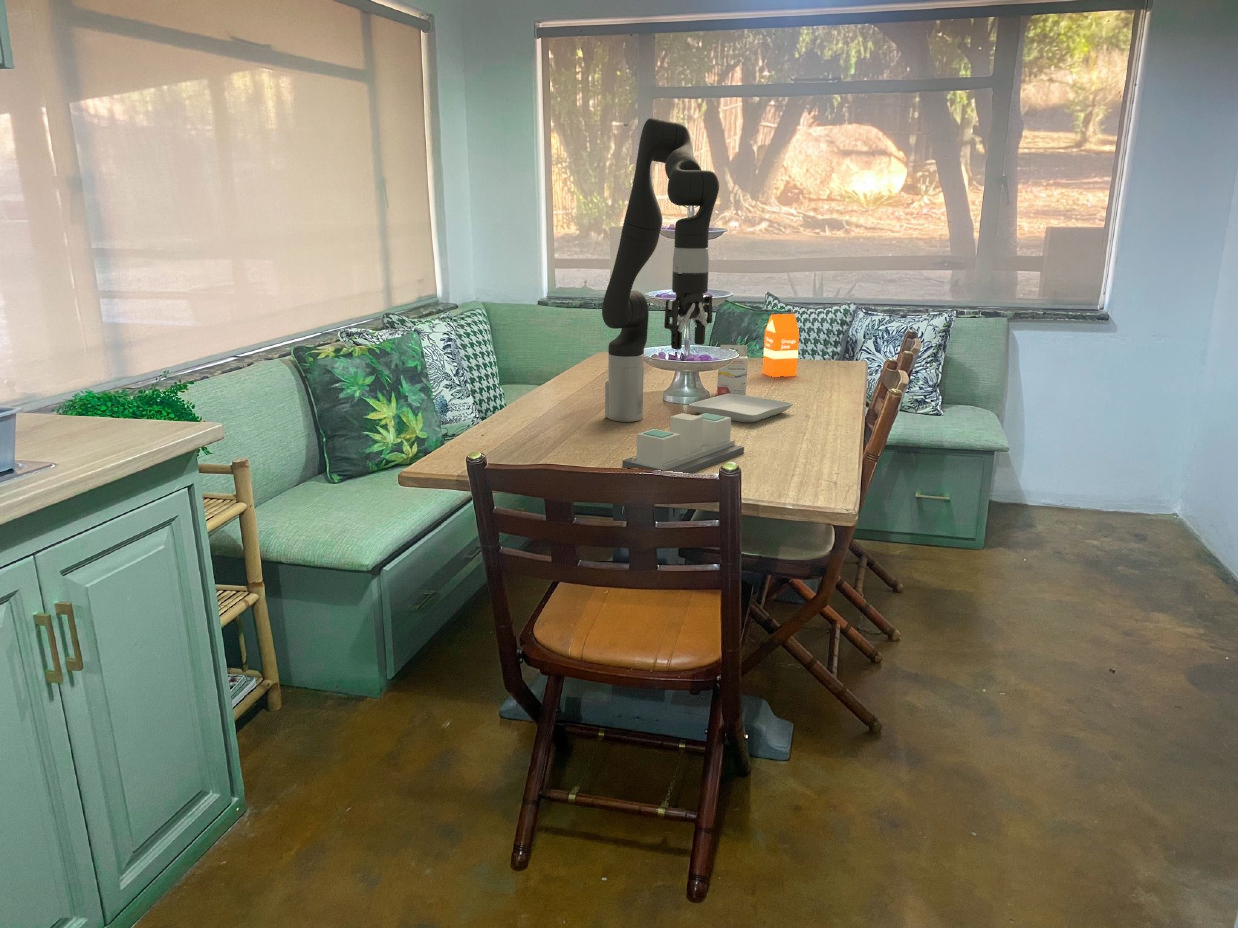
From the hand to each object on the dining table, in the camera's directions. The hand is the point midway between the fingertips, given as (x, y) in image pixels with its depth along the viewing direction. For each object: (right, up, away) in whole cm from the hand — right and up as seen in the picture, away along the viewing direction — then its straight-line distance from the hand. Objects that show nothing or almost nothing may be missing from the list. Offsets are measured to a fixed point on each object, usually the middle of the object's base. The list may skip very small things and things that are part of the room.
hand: (688, 346), depth 193 cm
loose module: (0, -23, +7) cm, 24 cm away
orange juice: (+39, +5, +107) cm, 114 cm away
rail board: (0, -24, +7) cm, 25 cm away
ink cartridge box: (+19, -5, +74) cm, 77 cm away
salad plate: (+18, -12, +51) cm, 56 cm away
